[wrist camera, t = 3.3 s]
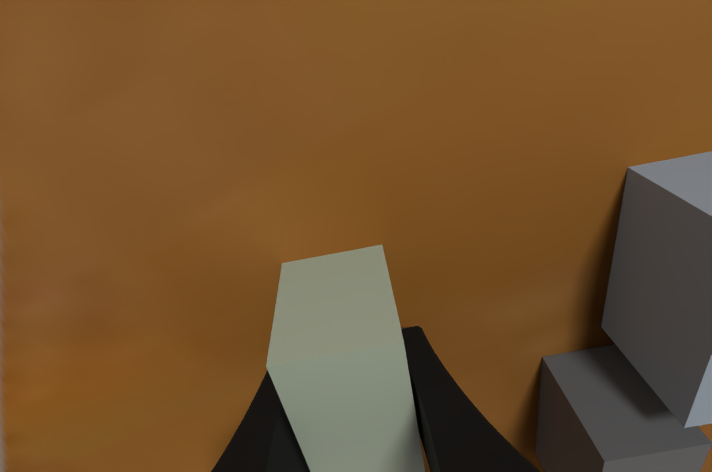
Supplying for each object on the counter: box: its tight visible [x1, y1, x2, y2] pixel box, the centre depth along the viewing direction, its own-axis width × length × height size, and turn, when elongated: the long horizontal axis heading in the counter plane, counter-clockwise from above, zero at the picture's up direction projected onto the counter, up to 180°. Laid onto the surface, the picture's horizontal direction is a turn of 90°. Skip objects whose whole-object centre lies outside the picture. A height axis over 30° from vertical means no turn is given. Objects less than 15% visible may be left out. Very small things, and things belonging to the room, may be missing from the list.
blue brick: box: [601, 151, 712, 428], centre depth 11 cm, size 6×3×4 cm, turn 10°
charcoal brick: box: [535, 344, 712, 472], centre depth 15 cm, size 6×3×4 cm, turn 10°
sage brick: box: [266, 245, 425, 472], centre depth 12 cm, size 6×3×4 cm, turn 10°
